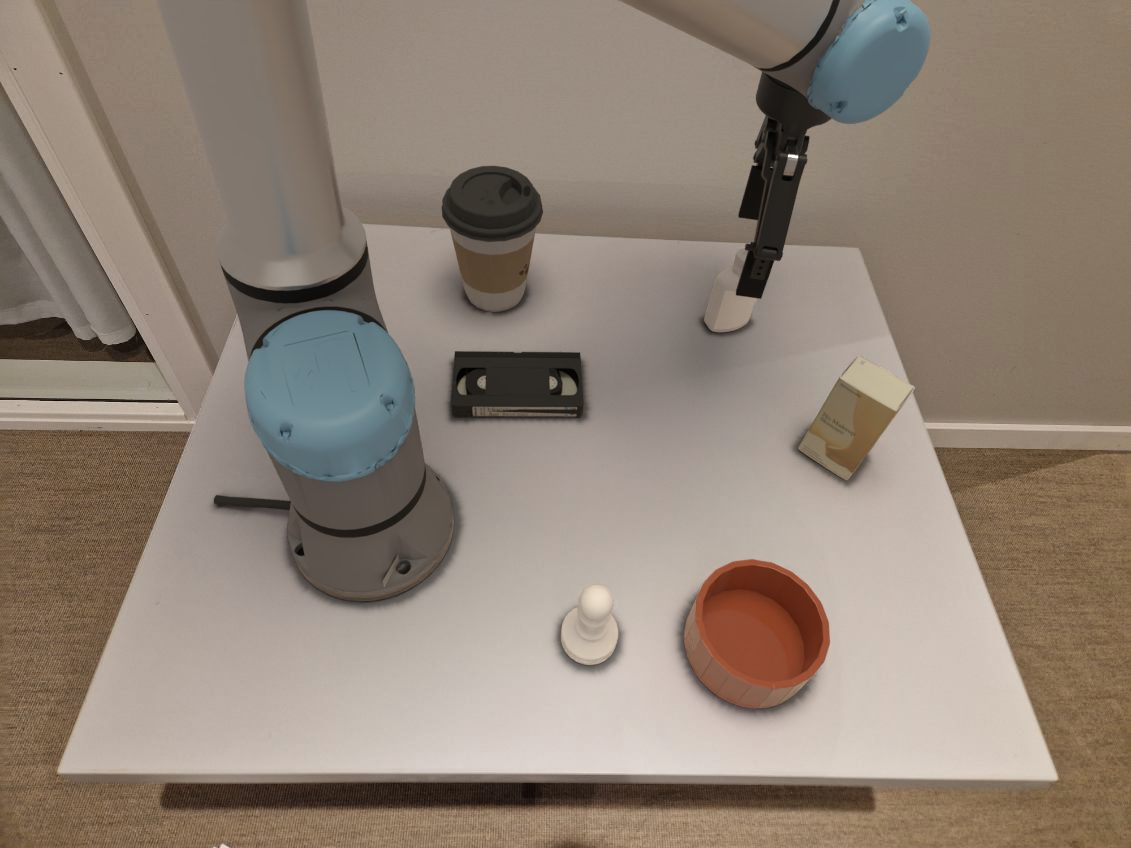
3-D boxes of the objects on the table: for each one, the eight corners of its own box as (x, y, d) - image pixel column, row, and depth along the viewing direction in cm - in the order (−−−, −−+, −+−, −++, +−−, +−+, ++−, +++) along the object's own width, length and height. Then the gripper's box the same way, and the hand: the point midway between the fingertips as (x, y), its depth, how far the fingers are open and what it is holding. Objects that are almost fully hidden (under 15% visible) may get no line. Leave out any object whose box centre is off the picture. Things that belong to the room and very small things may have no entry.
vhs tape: (452, 417, 79) (450, 405, 77) (455, 363, 84) (454, 351, 82) (582, 417, 80) (583, 406, 78) (579, 364, 85) (580, 352, 83)
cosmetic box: (795, 450, 79) (835, 375, 69) (815, 426, 81) (855, 351, 71) (849, 484, 76) (897, 411, 67) (867, 459, 78) (917, 385, 69)
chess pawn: (558, 612, 66) (563, 567, 59) (613, 609, 66) (625, 565, 59) (562, 667, 63) (568, 627, 56) (619, 664, 63) (633, 624, 56)
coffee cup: (538, 326, 88) (542, 224, 76) (444, 322, 88) (433, 219, 76) (541, 264, 95) (545, 162, 83) (454, 260, 95) (445, 156, 83)
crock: (679, 695, 62) (692, 674, 58) (687, 577, 69) (699, 549, 65) (811, 719, 61) (833, 700, 57) (806, 597, 68) (826, 571, 64)
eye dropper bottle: (748, 337, 89) (776, 260, 79) (702, 331, 89) (725, 254, 79) (748, 313, 91) (775, 235, 82) (703, 307, 92) (725, 229, 82)
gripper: (861, 149, 57) (784, 337, 74) (840, 10, 72) (780, 193, 89) (765, 136, 58) (711, 326, 75) (764, 1, 73) (719, 185, 90)
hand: (749, 254), depth 82 cm, fingers open, 13 cm apart
